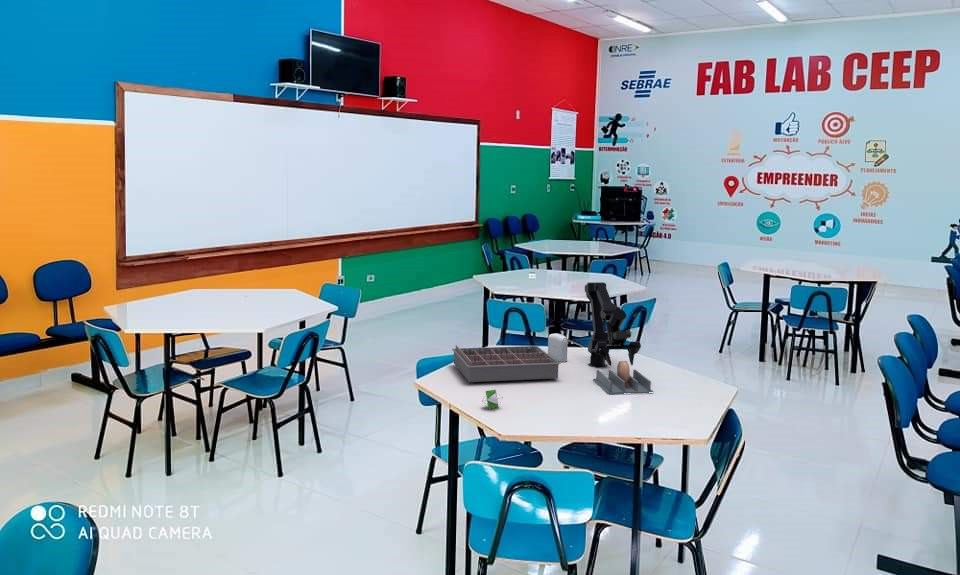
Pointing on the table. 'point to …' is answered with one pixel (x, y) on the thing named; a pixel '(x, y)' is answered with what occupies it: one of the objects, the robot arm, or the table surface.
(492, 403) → the geometric puzzle
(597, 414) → the table surface
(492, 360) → the organizer tray
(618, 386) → the dish rack
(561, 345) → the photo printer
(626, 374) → the peach disc
